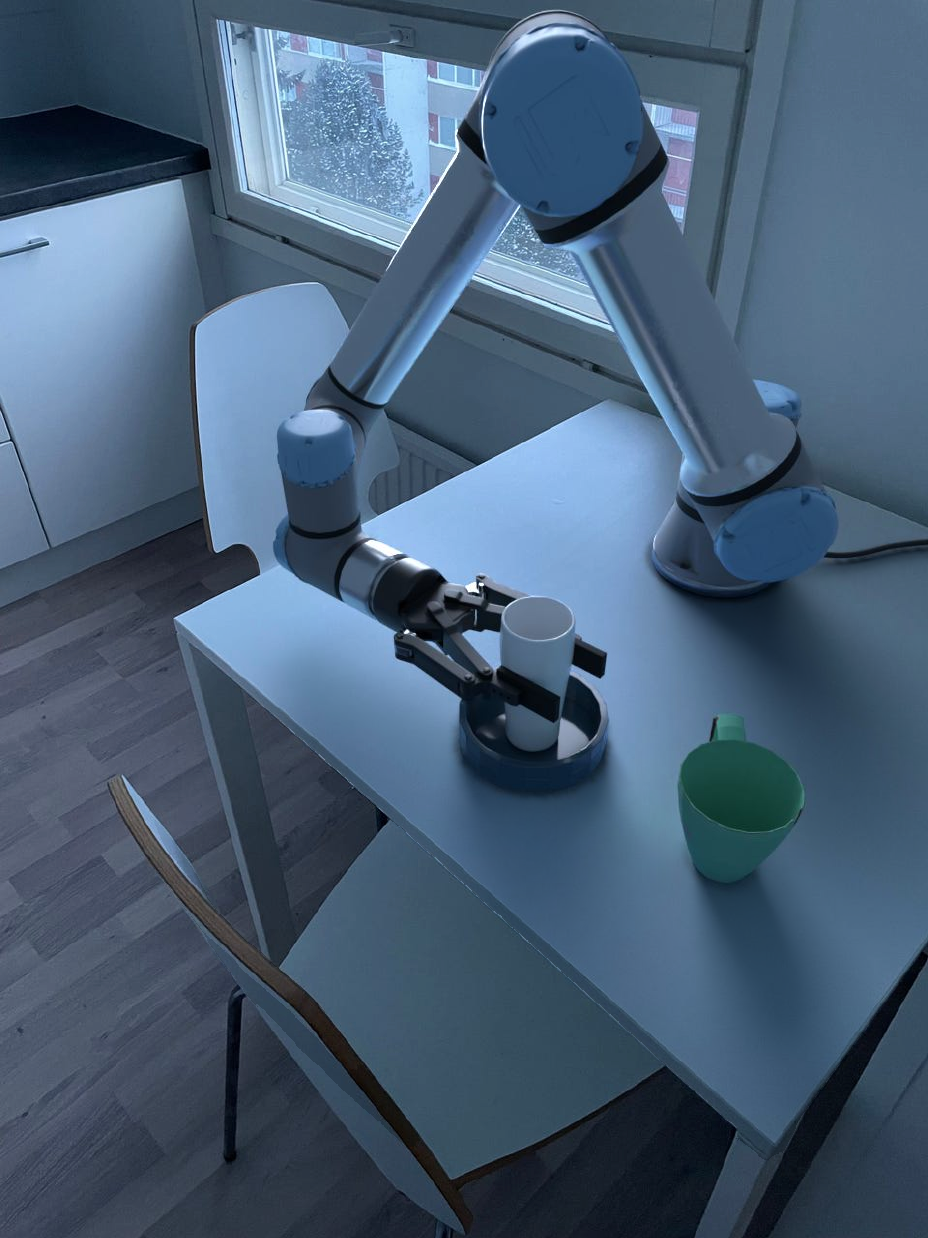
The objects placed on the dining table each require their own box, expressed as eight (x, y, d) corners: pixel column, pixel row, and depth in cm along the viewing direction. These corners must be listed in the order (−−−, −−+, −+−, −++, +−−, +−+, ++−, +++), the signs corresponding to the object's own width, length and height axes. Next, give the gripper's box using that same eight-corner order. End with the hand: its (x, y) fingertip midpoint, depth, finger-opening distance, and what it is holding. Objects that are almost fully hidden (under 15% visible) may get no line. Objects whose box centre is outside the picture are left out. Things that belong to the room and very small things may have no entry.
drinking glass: (546, 770, 85) (554, 652, 76) (485, 743, 88) (486, 626, 78) (577, 726, 89) (589, 609, 80) (518, 701, 92) (523, 586, 83)
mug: (786, 915, 73) (815, 839, 67) (665, 902, 74) (682, 827, 68) (763, 778, 84) (786, 703, 78) (658, 769, 85) (672, 694, 79)
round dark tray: (597, 687, 94) (600, 661, 92) (612, 793, 83) (616, 768, 81) (461, 686, 95) (460, 661, 92) (458, 793, 83) (457, 767, 81)
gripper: (457, 575, 100) (634, 661, 88) (329, 666, 88) (513, 780, 77) (456, 518, 95) (642, 602, 84) (320, 607, 84) (515, 719, 72)
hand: (580, 687), depth 80 cm, fingers closed on drinking glass, 7 cm apart
